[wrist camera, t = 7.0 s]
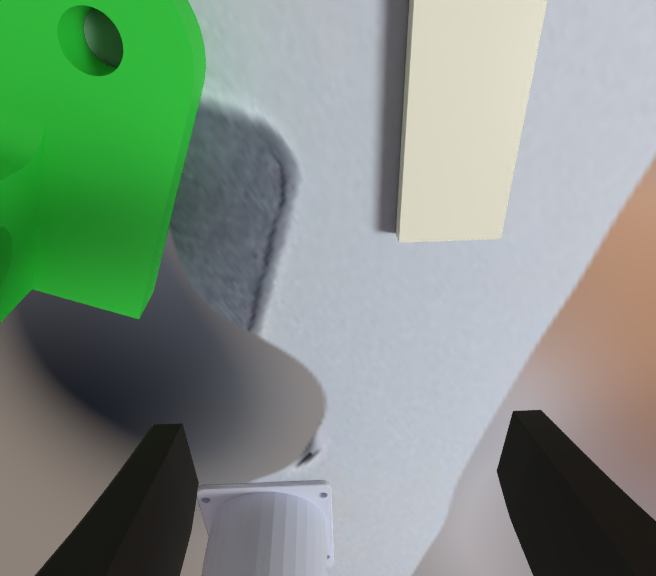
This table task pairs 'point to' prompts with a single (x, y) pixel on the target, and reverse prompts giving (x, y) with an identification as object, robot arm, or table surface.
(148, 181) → the mechanical part
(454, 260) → the table surface
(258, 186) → the table surface
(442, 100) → the plate
